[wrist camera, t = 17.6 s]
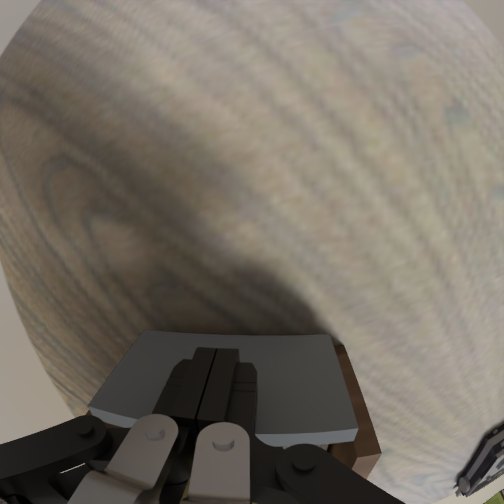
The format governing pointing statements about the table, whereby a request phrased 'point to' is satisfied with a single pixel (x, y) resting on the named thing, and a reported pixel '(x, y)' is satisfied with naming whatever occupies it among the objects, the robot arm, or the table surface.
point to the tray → (268, 383)
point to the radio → (484, 464)
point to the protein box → (496, 498)
